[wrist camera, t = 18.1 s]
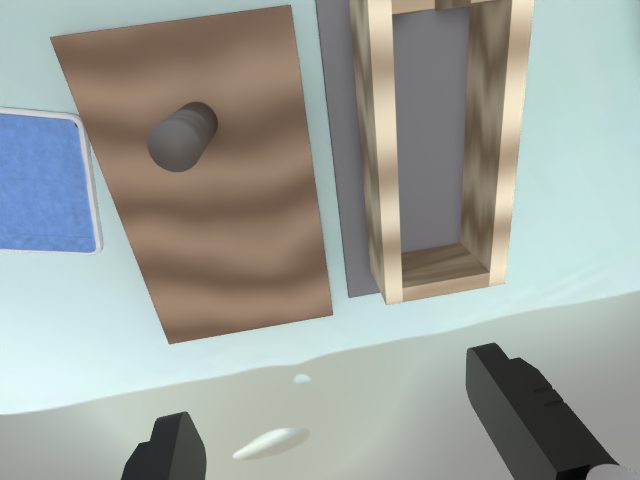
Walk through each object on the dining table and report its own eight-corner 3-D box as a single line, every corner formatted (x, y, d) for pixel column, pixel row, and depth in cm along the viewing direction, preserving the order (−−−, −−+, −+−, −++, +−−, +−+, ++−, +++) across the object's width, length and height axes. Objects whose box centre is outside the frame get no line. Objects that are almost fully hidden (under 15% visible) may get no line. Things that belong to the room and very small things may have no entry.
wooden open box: (348, 0, 29) (367, -11, 24) (489, -19, 30) (537, -34, 25) (370, 271, 40) (386, 305, 35) (473, 253, 41) (504, 283, 35)
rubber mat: (310, -45, 28) (311, -47, 28) (509, -71, 29) (512, -73, 29) (348, 295, 42) (349, 297, 41) (483, 271, 43) (485, 273, 42)
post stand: (59, 37, 29) (-41, 32, 19) (289, 6, 30) (300, -13, 20) (172, 334, 41) (144, 419, 32) (331, 306, 42) (349, 380, 33)
